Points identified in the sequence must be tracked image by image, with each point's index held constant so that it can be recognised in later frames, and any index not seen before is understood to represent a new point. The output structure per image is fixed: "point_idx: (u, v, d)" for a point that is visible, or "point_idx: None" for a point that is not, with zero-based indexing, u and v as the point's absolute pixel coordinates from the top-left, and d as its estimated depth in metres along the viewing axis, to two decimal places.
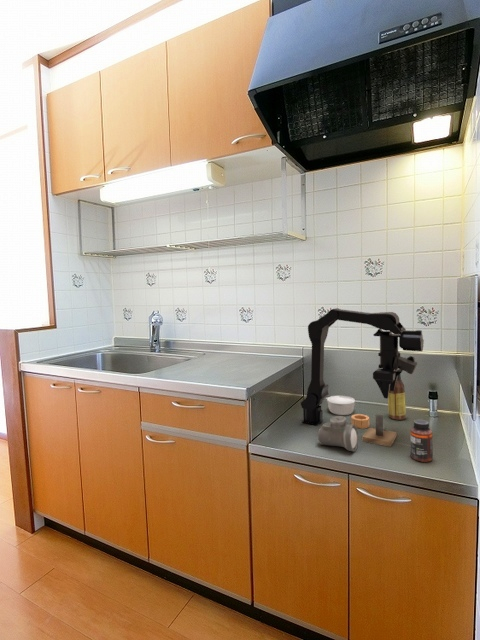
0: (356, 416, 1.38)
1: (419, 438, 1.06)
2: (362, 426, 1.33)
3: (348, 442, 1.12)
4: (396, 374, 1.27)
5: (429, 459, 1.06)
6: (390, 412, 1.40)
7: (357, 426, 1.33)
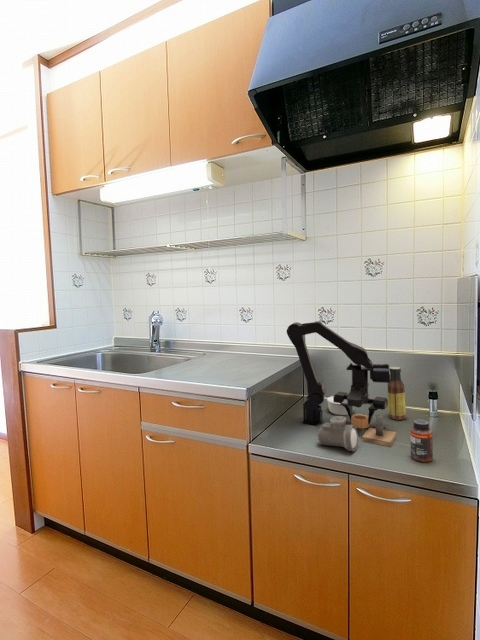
0: (356, 416, 1.38)
1: (419, 438, 1.06)
2: (362, 426, 1.33)
3: (348, 442, 1.12)
4: None
5: (429, 459, 1.06)
6: (390, 412, 1.40)
7: (357, 426, 1.33)
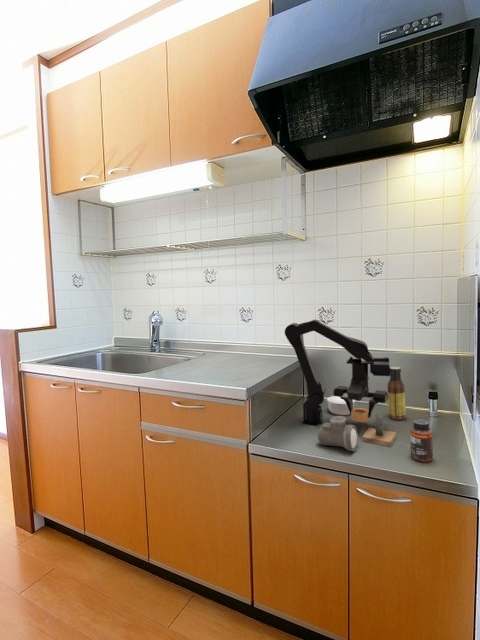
0: (356, 410, 1.37)
1: (419, 438, 1.06)
2: (362, 420, 1.32)
3: (348, 442, 1.12)
4: None
5: (429, 459, 1.06)
6: (390, 412, 1.40)
7: (357, 420, 1.33)
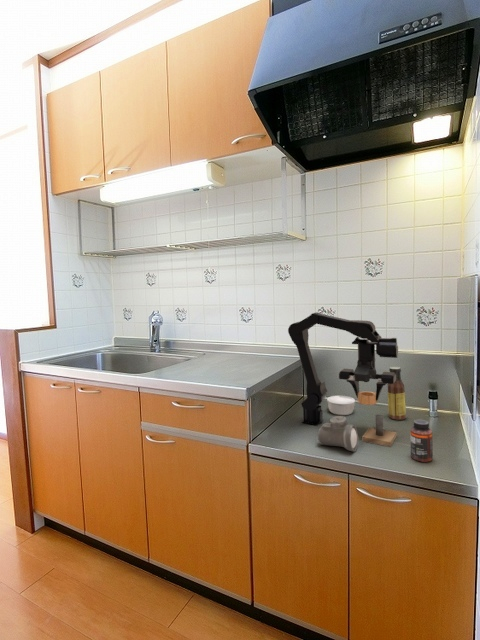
0: (363, 393, 1.32)
1: (419, 438, 1.06)
2: (370, 402, 1.27)
3: (348, 442, 1.12)
4: None
5: (429, 459, 1.06)
6: (390, 412, 1.40)
7: (364, 403, 1.28)
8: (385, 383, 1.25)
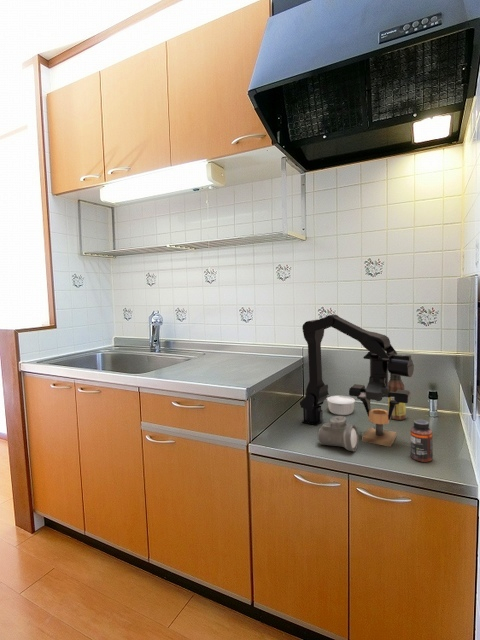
0: (374, 411, 1.25)
1: (419, 438, 1.06)
2: (382, 422, 1.20)
3: (348, 442, 1.12)
4: None
5: (429, 459, 1.06)
6: None
7: (376, 422, 1.20)
8: None
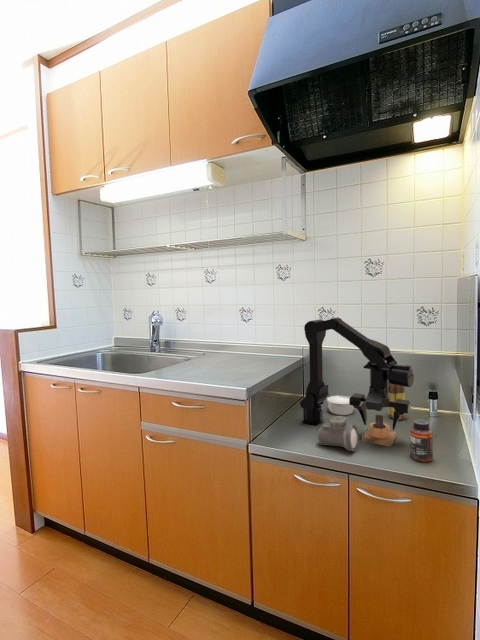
0: (374, 424, 1.25)
1: (419, 438, 1.06)
2: (382, 436, 1.20)
3: (348, 442, 1.12)
4: None
5: (429, 459, 1.06)
6: (390, 412, 1.40)
7: (376, 436, 1.21)
8: (403, 413, 1.16)
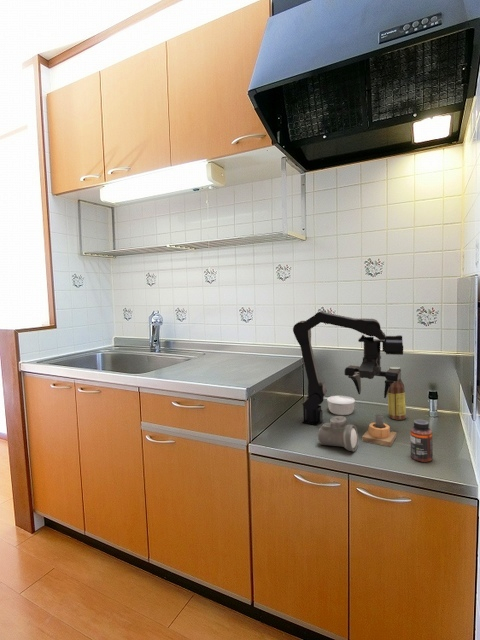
0: (374, 424, 1.25)
1: (419, 438, 1.06)
2: (382, 436, 1.20)
3: (348, 442, 1.12)
4: None
5: (429, 459, 1.06)
6: (390, 412, 1.40)
7: (376, 436, 1.21)
8: (393, 381, 1.26)
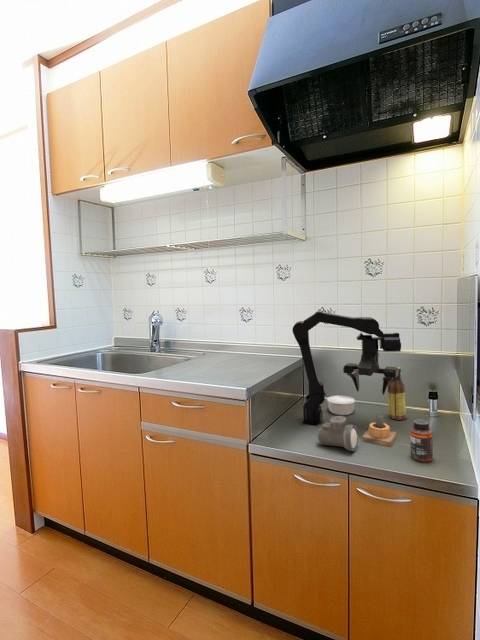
0: (374, 424, 1.25)
1: (419, 438, 1.06)
2: (382, 436, 1.20)
3: (348, 442, 1.12)
4: None
5: (429, 459, 1.06)
6: (390, 412, 1.40)
7: (376, 436, 1.21)
8: (391, 377, 1.29)
